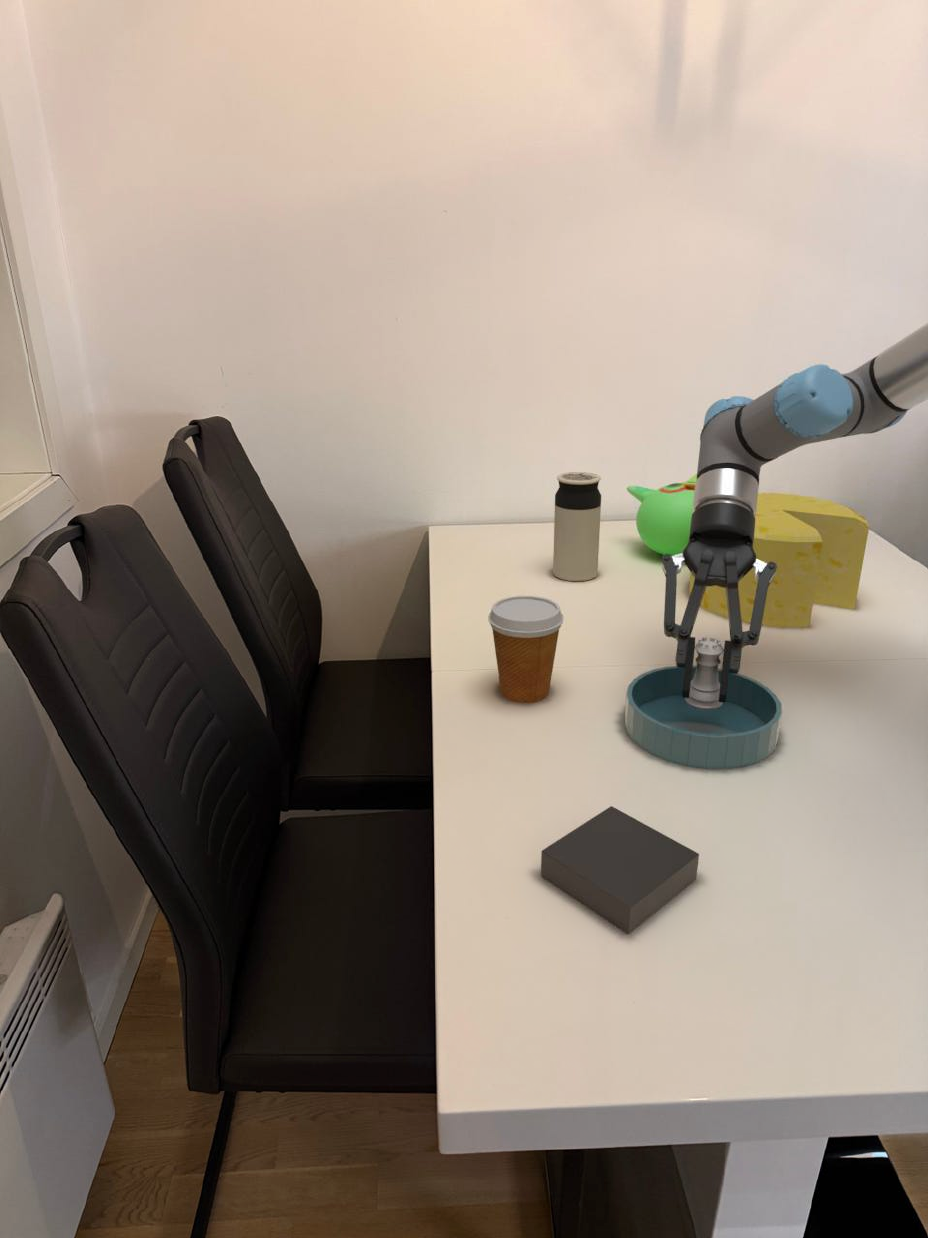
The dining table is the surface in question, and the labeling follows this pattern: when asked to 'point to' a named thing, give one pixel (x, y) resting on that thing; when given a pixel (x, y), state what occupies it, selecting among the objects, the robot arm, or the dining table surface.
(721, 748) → the tin
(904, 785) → the dining table surface
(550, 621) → the disposable coffee cup
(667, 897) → the stand
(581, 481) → the travel mug
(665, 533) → the toy bird
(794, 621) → the cheese
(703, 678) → the rook chess piece
